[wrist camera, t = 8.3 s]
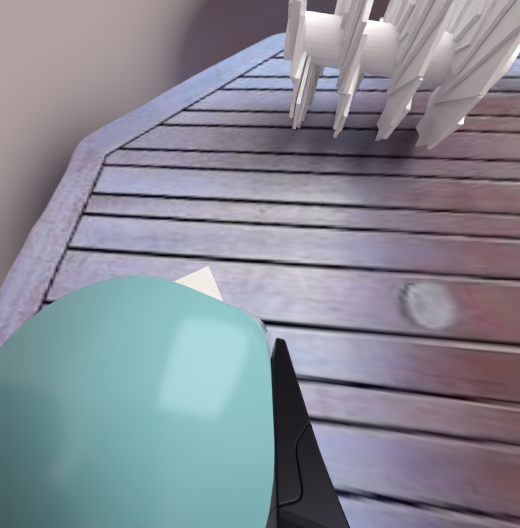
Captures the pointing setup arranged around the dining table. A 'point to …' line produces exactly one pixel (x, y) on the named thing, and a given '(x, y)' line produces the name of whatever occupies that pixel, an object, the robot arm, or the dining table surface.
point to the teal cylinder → (136, 412)
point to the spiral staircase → (404, 57)
